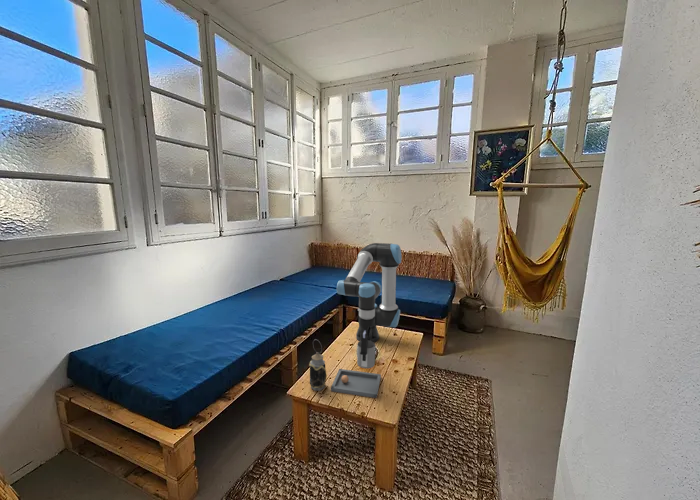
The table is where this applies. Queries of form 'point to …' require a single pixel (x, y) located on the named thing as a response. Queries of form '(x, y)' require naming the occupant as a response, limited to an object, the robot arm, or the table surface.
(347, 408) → the table surface
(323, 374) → the lantern
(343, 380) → the ball
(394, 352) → the table surface
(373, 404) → the table surface
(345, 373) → the tray
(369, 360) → the cup
